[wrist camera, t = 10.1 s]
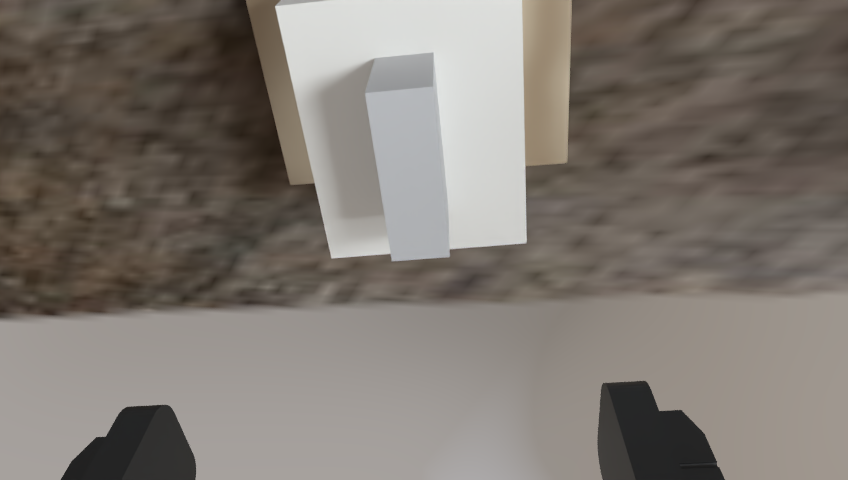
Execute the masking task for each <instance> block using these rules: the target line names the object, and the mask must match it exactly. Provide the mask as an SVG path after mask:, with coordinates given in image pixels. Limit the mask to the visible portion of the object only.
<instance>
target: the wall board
mask: <svg viewBox="0 0 848 480" xmlns="http://www.w3.org/2000/svg"><path fill="white" fill-rule="evenodd" d="M280 1H281V0H246V3H247V8H248V12H249V16H250V20H251V24H252V28H253V33H254V37H255V41H256V45H257V49H258V53H259V57H260V62H261V66H262V70H263V74H264V78H265V82H266V86H267V91H268V95H269V99H270V103H271V107H272V111H273V116H274V120H275V124H276V128H277V132H278V136H279V140H280V145H281V149H282V153H283V157H284V161H285V165H286V169H287V174H288V178H289V182H290V185H300V184H312V183H315V182H314V178H313V174H312V169H311V165H310V160H309V156H308V151H307V147H306V142H305V138H304V133H303V129H302V124H301V120H300V116H299V111H298V107H297V102H296V98H295V93H294V89H293V84H292V80H291V75H290V71H289V66H288V62H287V58H286V53H285V49H284V44H283V40H282V35H281V31H280V26H279V22H278V17H277V13H276V8H275V6H276V5H277V4H278V3H279V2H280ZM571 14H572V0H522V20H523V74H524V128H525V166H536V165H548V164H561V163H567V153H568V118H569V83H570V48H571Z"/></svg>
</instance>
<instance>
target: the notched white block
mask: <svg viewBox="0 0 848 480" xmlns="http://www.w3.org/2000/svg"><path fill="white" fill-rule="evenodd" d="M275 8H276V13H277V17H278V22H279V26H280V31H281V35H282V40H283V44H284V49H285V53H286V58H287V62H288V66H289V71H290V75H291V80H292V84H293V89H294V93H295V98H296V102H297V107H298V111H299V116H300V120H301V124H302V129H303V133H304V138H305V142H306V147H307V151H308V156H309V160H310V165H311V169H312V174H313V178H314V182H315V187H316V191H317V196H318V200H319V205H320V209H321V214H322V218H323V223H324V227H325V232H326V236H327V240H328V245H329V249H330V254H331V258H343V257H356V256H369V255H382V254H391V258H392V261H404V260H417V259H430V258H443V257H450V249H459V248H472V247H485V246H498V245H511V244H524V243H527V235H526V181H525V128H524V74H523V20H522V0H281V1H280V2H279V3H278V4H277V5H276V6H275Z"/></svg>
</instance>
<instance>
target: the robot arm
mask: <svg viewBox="0 0 848 480" xmlns="http://www.w3.org/2000/svg"><path fill="white" fill-rule="evenodd" d="M598 456H599V464H600V469H601V474H602V478H603V480H725V479H724V477H723V475H722V472H721V470H720V468H719V467H717V461H716V459H715V457H714V454H713V452H712V450H711V448H710V446H709V443H708V441H707V439H706V437H705V434H704V433H703V432H702V431H701V430H700V429H699V428H698V427H697V426H696V425H695V424H694V423H693V422H692V421H691V420H690V419H689V418H688V417H687V416H686V415H685V414H684V413H683V412H682V410H675V411H659V410H658V407H657V405H656V402H655V399H654V396H653V394H652V391H651V389H650V387H649V385H648V383H647V382H646V381H636V382H617V383H603V385H602V389H601V399H600V413H599V427H598ZM195 477H196V463H195V459H194V455H193V453H192V451H191V448H190V446H189V444H188V442H187V440H186V438H185V435H184V433H183V431H182V429H181V426H180V424H179V422H178V420H177V418H176V415H175V413H174V411H173V410H172V408H171V407H170V406H168V405H153V406H136V407H135V406H134V407H126V408H125V409H123V410H122V411H121V412H120V413H119V415H118V417H117V418H116V420H115V422H114V423H113V425H112V427H111V429H110V431H109V432H108V434H107V436H106V437H96V438H95V439H94V440H93V441H92V442H91V443H90V444H89V445H88V446H87V447H86V448H85V449H84V450H83V451H82V452H81V453H80V454H79V455H78V456H77V457H76V458H75V459H74V460H73V461H72V462H71V463H70V465H69V467H68V468H67V470H66V472H65V473H64V475H63V477H62V478H61V480H195Z"/></svg>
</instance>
